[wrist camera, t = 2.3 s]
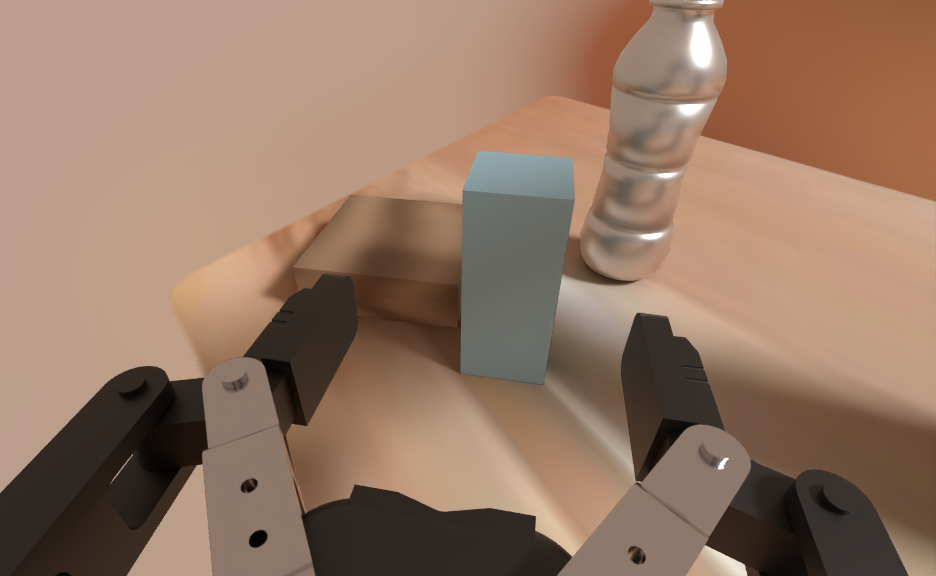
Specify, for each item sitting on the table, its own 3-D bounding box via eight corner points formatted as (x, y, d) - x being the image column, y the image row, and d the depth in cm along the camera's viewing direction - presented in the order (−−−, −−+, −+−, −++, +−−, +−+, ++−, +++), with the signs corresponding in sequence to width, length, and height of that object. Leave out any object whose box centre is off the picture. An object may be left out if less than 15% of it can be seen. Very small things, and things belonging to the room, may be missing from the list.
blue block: (545, 329, 32) (572, 158, 25) (543, 384, 28) (574, 199, 21) (473, 320, 32) (478, 150, 25) (460, 373, 28) (462, 190, 21)
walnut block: (478, 248, 41) (480, 206, 38) (457, 332, 32) (457, 284, 30) (356, 236, 42) (350, 194, 40) (303, 313, 33) (292, 267, 31)
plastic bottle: (579, 241, 41) (631, -36, 29) (660, 254, 40) (749, -32, 28) (570, 282, 36) (628, -32, 24) (662, 299, 35) (772, -26, 23)
